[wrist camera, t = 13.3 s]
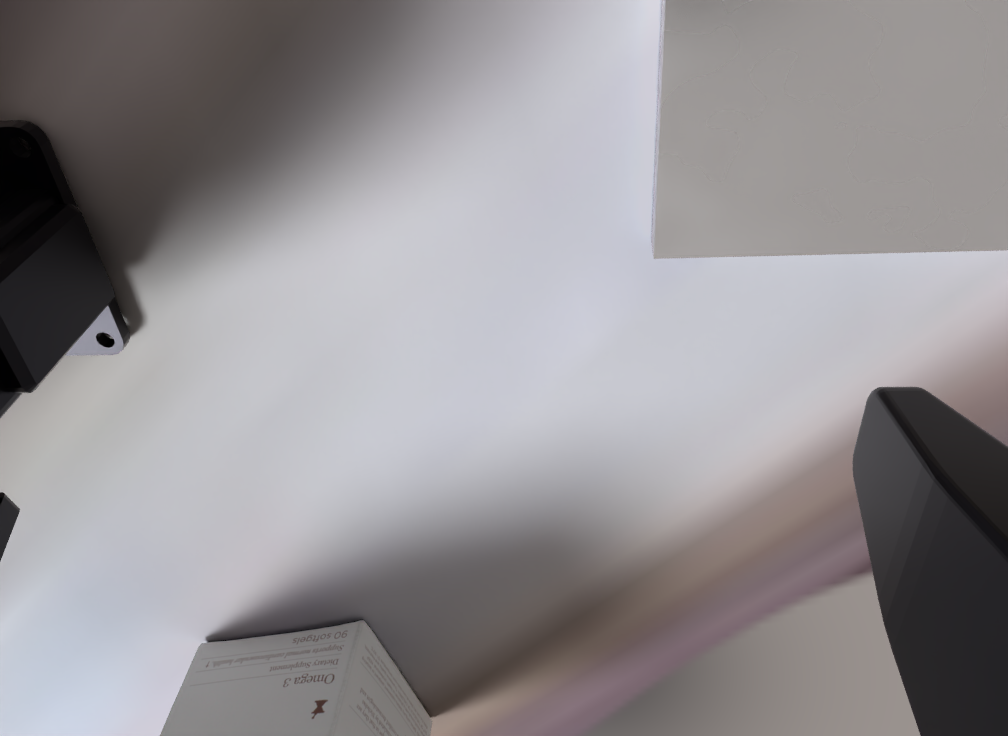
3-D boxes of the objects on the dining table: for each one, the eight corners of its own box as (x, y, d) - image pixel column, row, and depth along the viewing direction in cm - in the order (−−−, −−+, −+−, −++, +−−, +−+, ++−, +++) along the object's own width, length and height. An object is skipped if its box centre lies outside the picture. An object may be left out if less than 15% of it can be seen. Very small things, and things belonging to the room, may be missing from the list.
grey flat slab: (651, 242, 20) (653, 258, 19) (665, -80, 16) (669, -73, 15) (1041, 232, 19) (1057, 248, 18) (1165, -113, 15) (1191, -106, 14)
